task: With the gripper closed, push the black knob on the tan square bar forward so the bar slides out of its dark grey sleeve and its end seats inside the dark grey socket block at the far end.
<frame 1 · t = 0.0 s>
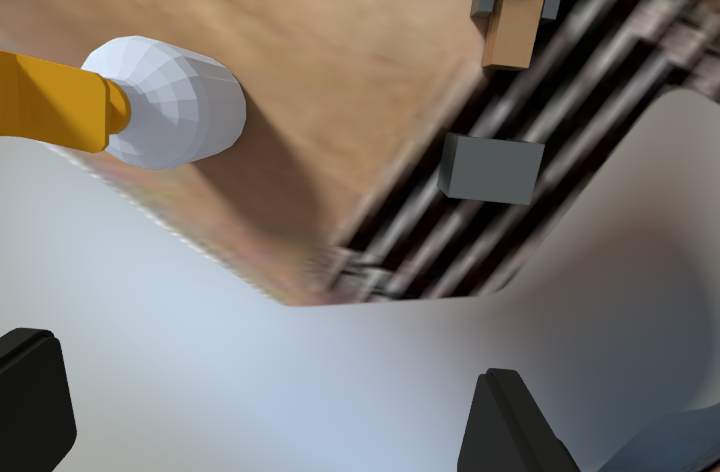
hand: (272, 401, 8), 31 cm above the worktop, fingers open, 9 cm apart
soap bottle: (201, 106, 36), on the worktop
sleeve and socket: (503, 33, 34), on the worktop
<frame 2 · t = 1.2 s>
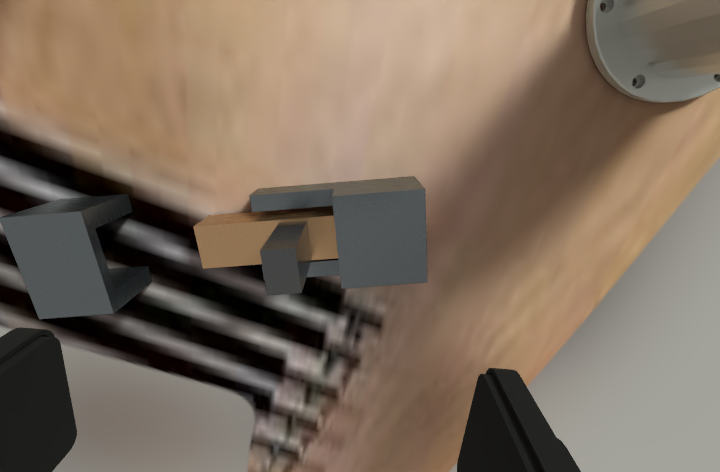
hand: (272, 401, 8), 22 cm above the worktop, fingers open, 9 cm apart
tan square bar: (307, 245, 25), point 5 cm above the worktop, slide at 0.0 cm
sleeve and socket: (252, 230, 30), on the worktop
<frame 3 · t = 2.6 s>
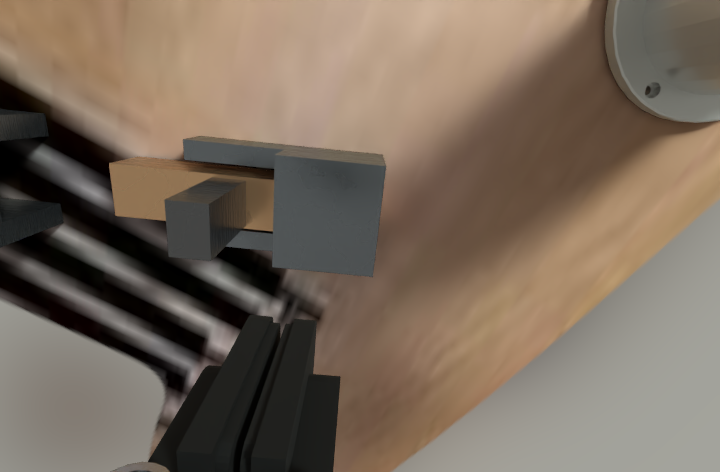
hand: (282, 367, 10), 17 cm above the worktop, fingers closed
tan square bar: (239, 209, 21), point 5 cm above the worktop, slide at 0.0 cm
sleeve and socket: (187, 184, 26), on the worktop
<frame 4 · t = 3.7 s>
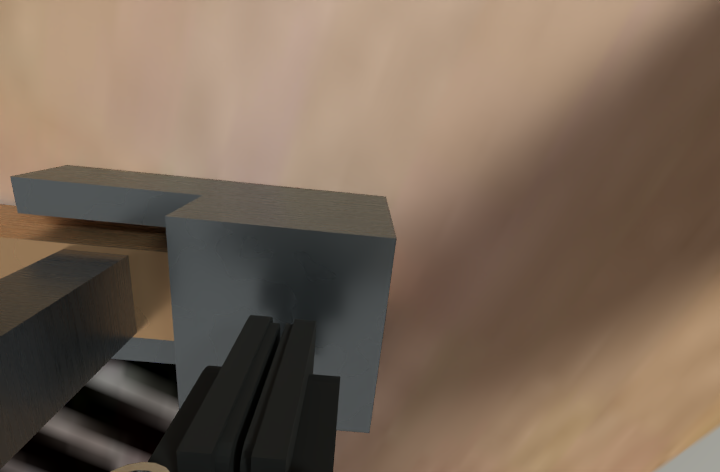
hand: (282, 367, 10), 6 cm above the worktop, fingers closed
tan square bar: (107, 315, 11), point 5 cm above the worktop, slide at 0.0 cm
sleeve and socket: (54, 244, 15), on the worktop
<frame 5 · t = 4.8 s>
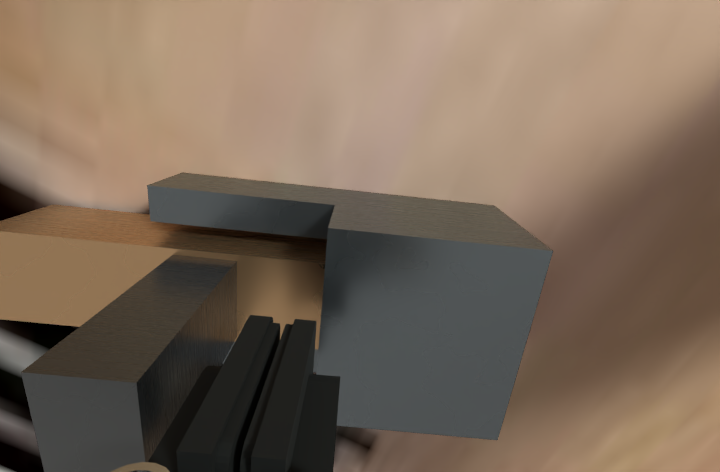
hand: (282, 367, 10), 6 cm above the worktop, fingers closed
tan square bar: (223, 321, 11), point 5 cm above the worktop, slide at 0.9 cm, touching gripper
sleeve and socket: (161, 250, 15), on the worktop
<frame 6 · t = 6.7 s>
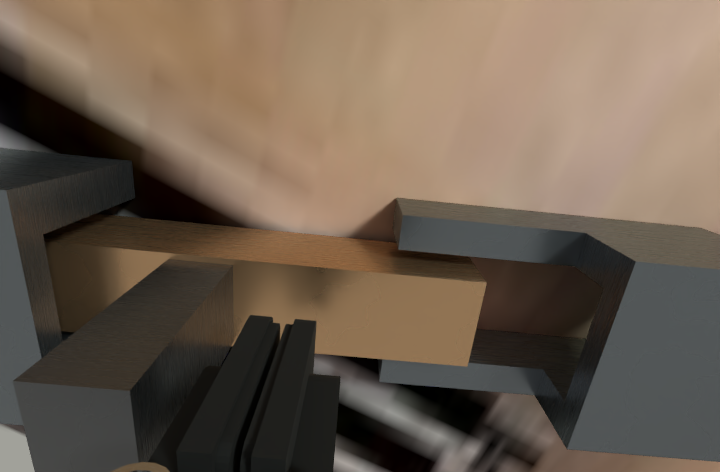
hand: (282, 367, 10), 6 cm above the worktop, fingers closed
tan square bar: (219, 325, 11), point 5 cm above the worktop, slide at 9.2 cm
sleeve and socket: (361, 273, 15), on the worktop
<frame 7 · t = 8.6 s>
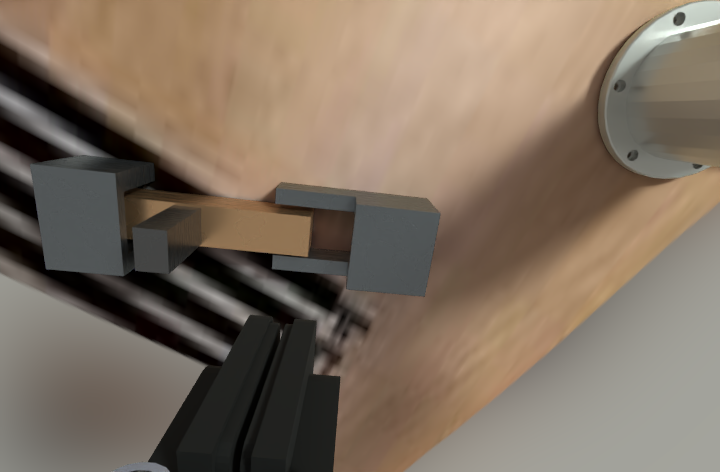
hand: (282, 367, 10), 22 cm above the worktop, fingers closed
tan square bar: (194, 231, 27), point 5 cm above the worktop, slide at 9.2 cm
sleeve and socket: (267, 220, 31), on the worktop
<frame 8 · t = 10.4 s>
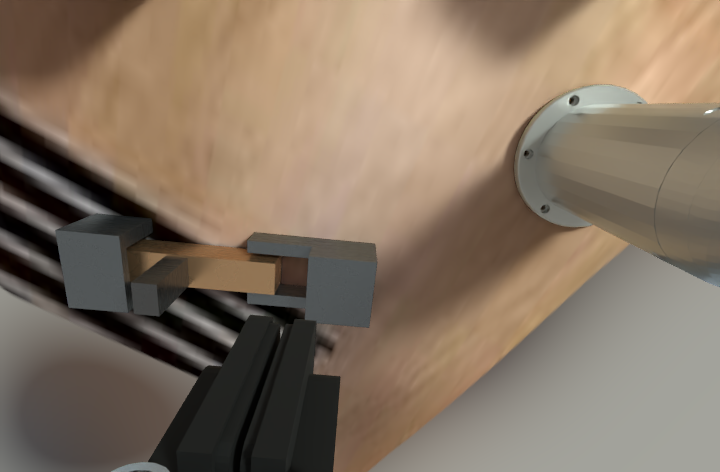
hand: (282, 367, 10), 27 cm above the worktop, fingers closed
tan square bar: (182, 277, 34), point 5 cm above the worktop, slide at 9.2 cm
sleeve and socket: (244, 262, 38), on the worktop
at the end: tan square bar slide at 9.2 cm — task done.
